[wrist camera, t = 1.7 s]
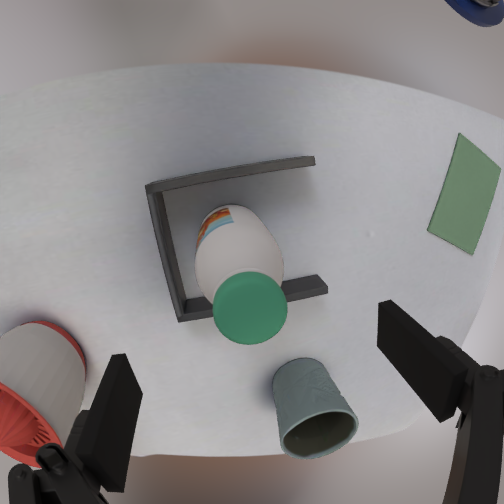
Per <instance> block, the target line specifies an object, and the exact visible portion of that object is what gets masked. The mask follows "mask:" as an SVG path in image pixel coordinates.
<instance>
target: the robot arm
mask: <svg viewBox="0 0 504 504" xmlns="http://www.w3.org/2000/svg"><path fill="white" fill-rule="evenodd" d="M470 1H471V2H473V3H474V4H476V5H478V6H480V7H483V8H488V7H493V6H496V5H498V4H499V3H498V2H499V1H500V0H470ZM377 347H378V348H379V349H380V350H381V351H382V353H383V354H384V355H385V356H386V357H387V359H388V360H389V361H390V362H391V363H392V365H393V366H394V367H395V368H396V369H397V371H398V372H399V373H400V374H401V375H402V377H403V378H404V379H405V380H406V382H407V383H408V384H409V385H410V386H411V388H412V389H413V390H414V391H415V393H416V394H417V395H418V396H419V398H420V399H421V400H422V401H423V402H424V404H425V405H426V406H427V407H428V409H429V410H430V411H431V412H432V414H433V415H434V416H435V417H436V419H437V420H438V421H439V422H440V423H441V422H443V421H445V420H447V419H449V418H451V417H453V416H454V414H455V411H456V408H457V407H458V408H459V409H460V410H461V411H462V412H461V415H460V417H459V420H458V422H457V425H456V428H458V433H457V440H456V445H455V451H454V456H453V462H452V467H451V472H450V476H449V480H448V484H447V489H446V492H445V496H444V500H443V503H442V504H497V498H498V491H499V483H500V475H501V464H502V463H501V462H502V448H503V435H504V370H498V369H497V368H495V367H493V366H489V365H483V366H480V365H479V364H478V363H476V361H474V360H473V359H472V358H471V357H470V356H469V355H468V354H466V353H465V352H464V351H462V349H461V348H460V347H458V346H457V345H456V344H455V343H454V342H453V341H451V340H450V339H448V338H445V337H443V336H439V337H436V338H435V337H434V336H432V335H431V334H430V333H429V332H428V331H427V330H426V329H425V328H423V327H422V326H421V325H420V324H419V323H418V322H416V321H415V320H414V319H413V318H412V317H411V316H410V315H408V314H407V313H406V312H405V311H404V310H403V309H401V308H400V307H399V306H398V305H397V304H395V303H394V302H393V301H392V300H387V301H384V302H380V303H378V335H377ZM142 395H143V393H142V391H141V388H140V386H139V384H138V382H137V380H136V377H135V375H134V373H133V370H132V368H131V366H130V363H129V361H128V359H127V356H126V354H125V353H124V354H116V355H112V356H111V359H110V361H109V363H108V366H107V368H106V370H105V373H104V375H103V378H102V380H101V383H100V385H99V388H98V390H97V393H96V395H95V398H94V400H93V403H92V405H91V408H90V410H82V411H81V412H80V413H79V415H78V416H77V417H76V418H75V421H74V423H73V427H72V428H71V431H70V434H69V436H68V438H67V441H66V444H65V446H64V449H63V448H62V447H61V446H60V445H59V444H57V443H47V444H44V445H43V446H41V447H40V448H39V449H38V451H37V452H36V455H35V460H36V462H37V463H38V464H39V465H40V467H41V468H42V469H40V470H34V471H33V470H32V469H31V468H30V467H29V466H28V465H27V464H24V463H22V464H17V465H15V466H14V467H13V468H12V469H11V470H10V472H9V475H8V488H9V503H10V504H109V503H108V502H107V500H106V499H105V498H104V496H103V495H102V494H101V493H100V487H101V485H102V486H103V487H104V488H105V490H106V491H107V492H121V493H123V492H124V488H125V482H126V476H127V470H128V464H129V459H130V454H131V448H132V443H133V438H134V433H135V428H136V423H137V418H138V414H139V409H140V404H141V400H142Z"/></svg>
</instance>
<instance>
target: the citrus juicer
mask: <svg viewBox="0 0 504 504" xmlns="http://www.w3.org/2000/svg"><path fill="white" fill-rule="evenodd" d="M85 381H86V366H85V360H84V356H83V353H82V351H81V349H80V347H79V345H78V344H77V343H76V341H75V340H74V339H73V338H72V337H71V336H70V335H69V334H68V333H67V332H66V331H65V330H63V329H62V328H61V327H59V326H57V325H55V324H53V323H50V322H46V321H32V322H28V323H24V324H22V325H20V326H18V327H16V328H13V329H12V330H10V331H8V332H7V333H5V334H4V335H2V336H1V337H0V450H1V451H2V452H3V453H5V454H7V455H8V456H10V457H12V458H13V459H15V460H17V461H20V462H22V463H24V464H27V465H30V466H33V467H38V468H41V467H40V465H39V464H38V463H37V462H36V460H35V455H36V452H37V451H38V449H39V448H40V447H41V446H43V445H44V444H47V443H57V444H59V445H60V446H61V447H62V448H63V449H64V446H65V444H66V441H67V438H68V436H69V434H70V431H71V428H72V427H73V423H74V421H75V418H76V417H77V416H78V414H79V411H80V408H81V405H82V401H83V397H84V391H85Z"/></svg>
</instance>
